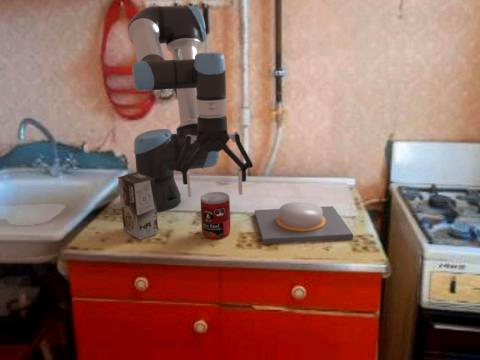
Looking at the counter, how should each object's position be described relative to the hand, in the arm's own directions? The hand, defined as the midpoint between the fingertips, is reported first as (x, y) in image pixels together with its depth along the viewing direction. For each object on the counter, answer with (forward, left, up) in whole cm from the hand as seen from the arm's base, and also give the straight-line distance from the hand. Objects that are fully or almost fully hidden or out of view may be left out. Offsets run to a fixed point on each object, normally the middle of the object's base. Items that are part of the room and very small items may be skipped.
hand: (215, 194), depth 129 cm
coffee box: (-4, -21, -12) cm, 25 cm away
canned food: (0, 0, -12) cm, 12 cm away
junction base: (-2, +24, -12) cm, 27 cm away
